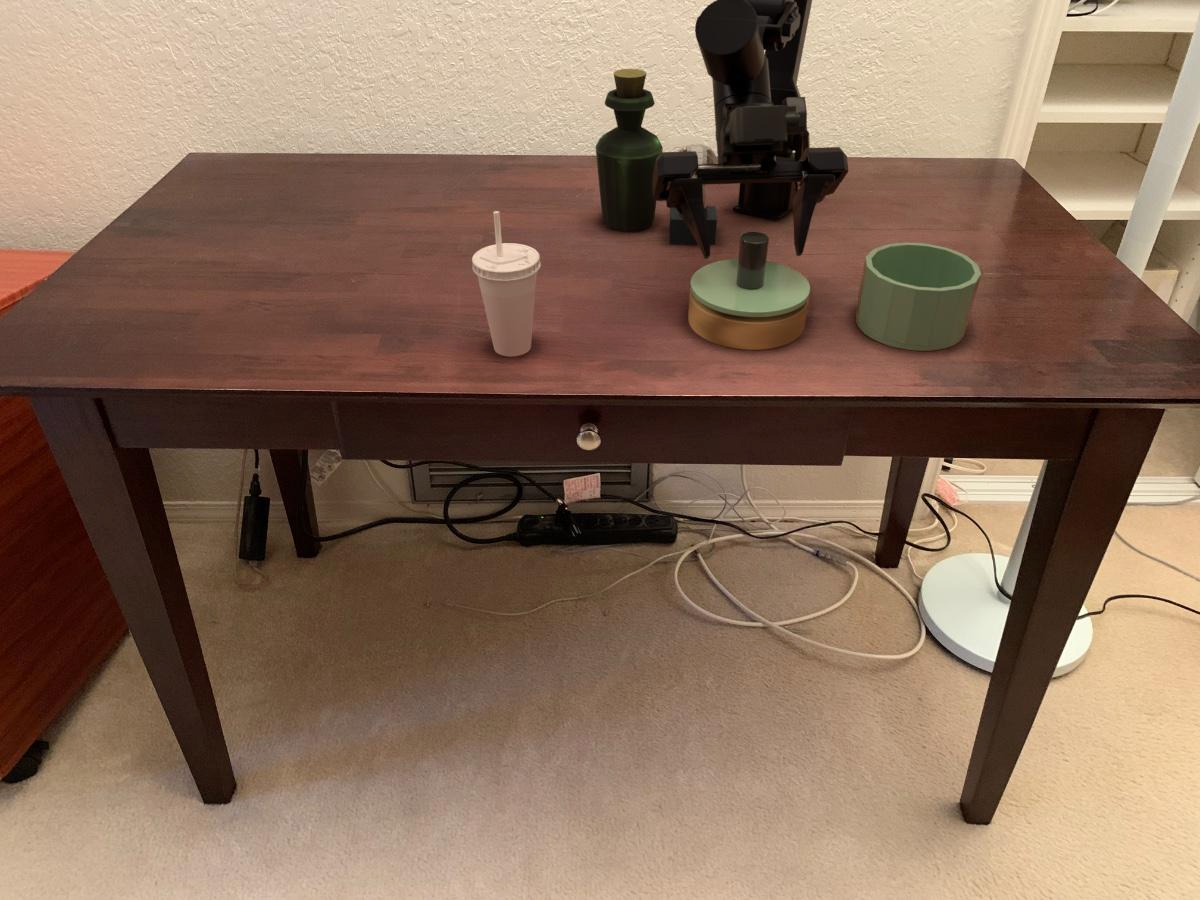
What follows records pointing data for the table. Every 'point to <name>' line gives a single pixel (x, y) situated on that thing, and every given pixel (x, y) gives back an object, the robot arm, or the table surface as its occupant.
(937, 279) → the green round open container
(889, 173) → the table surface
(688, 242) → the watch
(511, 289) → the smoothie
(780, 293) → the lid
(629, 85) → the potion bottle
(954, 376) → the table surface
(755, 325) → the disc
